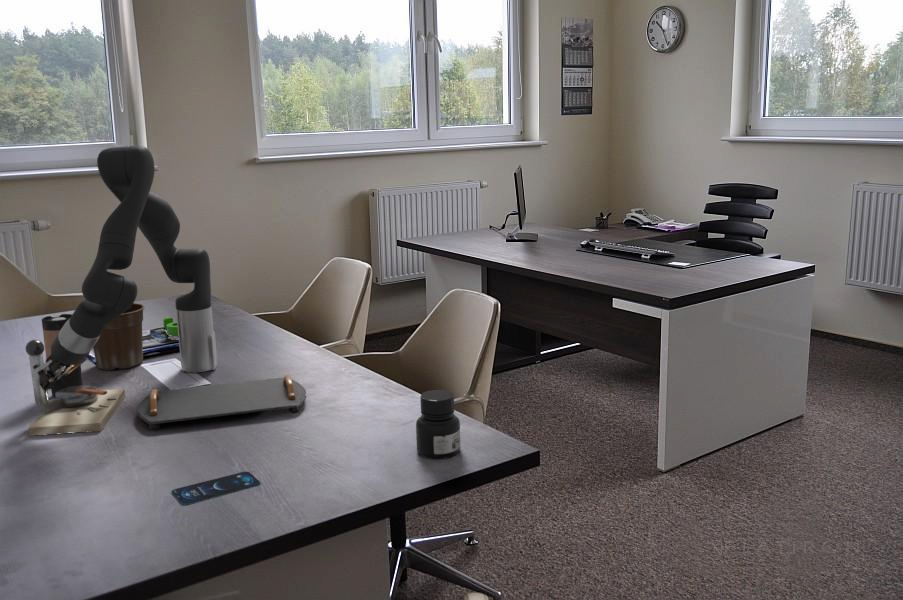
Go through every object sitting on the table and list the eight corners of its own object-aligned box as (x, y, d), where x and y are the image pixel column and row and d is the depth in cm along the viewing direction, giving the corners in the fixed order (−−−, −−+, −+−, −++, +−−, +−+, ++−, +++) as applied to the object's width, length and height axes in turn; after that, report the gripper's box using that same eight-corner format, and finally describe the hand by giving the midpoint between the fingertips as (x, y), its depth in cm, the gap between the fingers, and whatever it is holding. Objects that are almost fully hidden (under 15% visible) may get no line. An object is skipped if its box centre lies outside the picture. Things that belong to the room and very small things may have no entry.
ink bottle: (444, 464, 165) (442, 406, 163) (407, 455, 170) (405, 398, 167) (469, 447, 173) (468, 391, 171) (433, 439, 178) (432, 385, 175)
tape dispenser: (193, 339, 264) (191, 325, 263) (169, 342, 261) (168, 328, 260) (185, 329, 277) (184, 315, 276) (163, 332, 274) (161, 318, 273)
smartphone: (262, 483, 158) (182, 505, 150) (262, 486, 158) (182, 508, 150) (247, 470, 164) (169, 489, 156) (247, 473, 164) (170, 492, 156)
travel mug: (71, 400, 208) (61, 321, 204) (44, 398, 209) (34, 320, 205) (90, 390, 215) (81, 314, 211) (64, 388, 217) (54, 313, 212)
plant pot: (75, 369, 233) (68, 313, 230) (118, 354, 248) (112, 300, 244) (121, 375, 227) (114, 317, 224) (162, 359, 242) (156, 304, 238)
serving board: (135, 436, 184) (132, 410, 183) (140, 403, 206) (138, 379, 204) (312, 415, 195) (311, 389, 194) (300, 385, 217) (298, 362, 215)
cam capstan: (119, 398, 202) (111, 328, 198) (72, 420, 188) (63, 345, 184) (76, 393, 206) (67, 325, 202) (26, 414, 192) (16, 341, 188)
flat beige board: (125, 396, 210) (124, 387, 209) (101, 431, 186) (99, 421, 186) (61, 400, 208) (60, 391, 207) (29, 436, 184) (28, 426, 184)
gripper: (91, 319, 189) (59, 366, 196) (40, 333, 177) (8, 382, 185) (111, 344, 187) (78, 391, 195) (61, 360, 176) (28, 408, 183)
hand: (44, 387), depth 190 cm, fingers closed
